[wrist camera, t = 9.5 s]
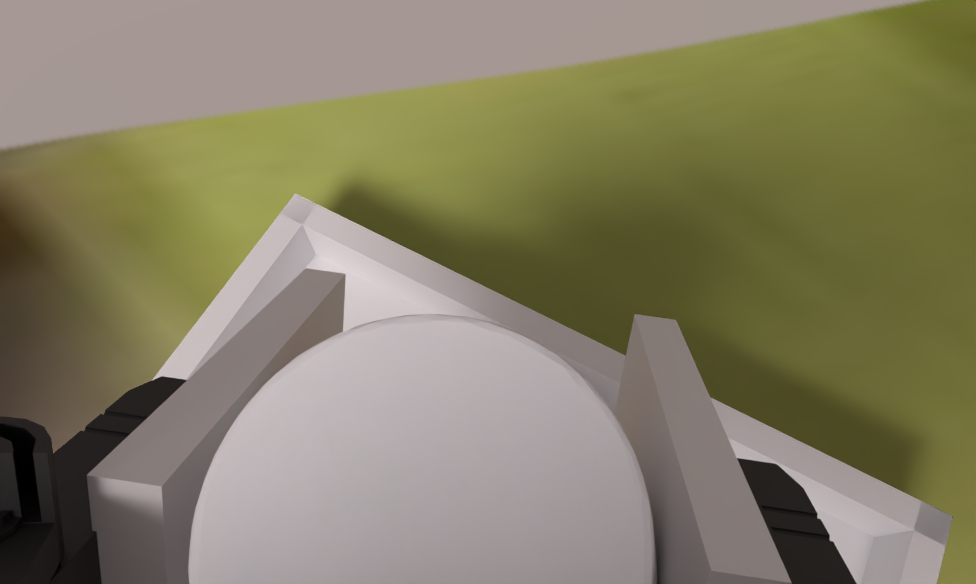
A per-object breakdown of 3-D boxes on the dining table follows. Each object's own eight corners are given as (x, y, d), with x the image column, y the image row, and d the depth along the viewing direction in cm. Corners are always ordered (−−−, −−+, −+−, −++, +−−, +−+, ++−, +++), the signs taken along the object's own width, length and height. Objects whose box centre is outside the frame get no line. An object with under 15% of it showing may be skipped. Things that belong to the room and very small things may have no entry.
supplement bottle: (292, 505, 15) (42, 361, 6) (517, 412, 16) (569, 174, 7) (373, 778, 13) (170, 1116, 4) (625, 653, 14) (876, 723, 5)
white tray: (898, 527, 20) (953, 516, 18) (730, 1140, 15) (776, 1238, 12) (312, 233, 24) (295, 193, 21) (12, 641, 18) (-53, 646, 16)
